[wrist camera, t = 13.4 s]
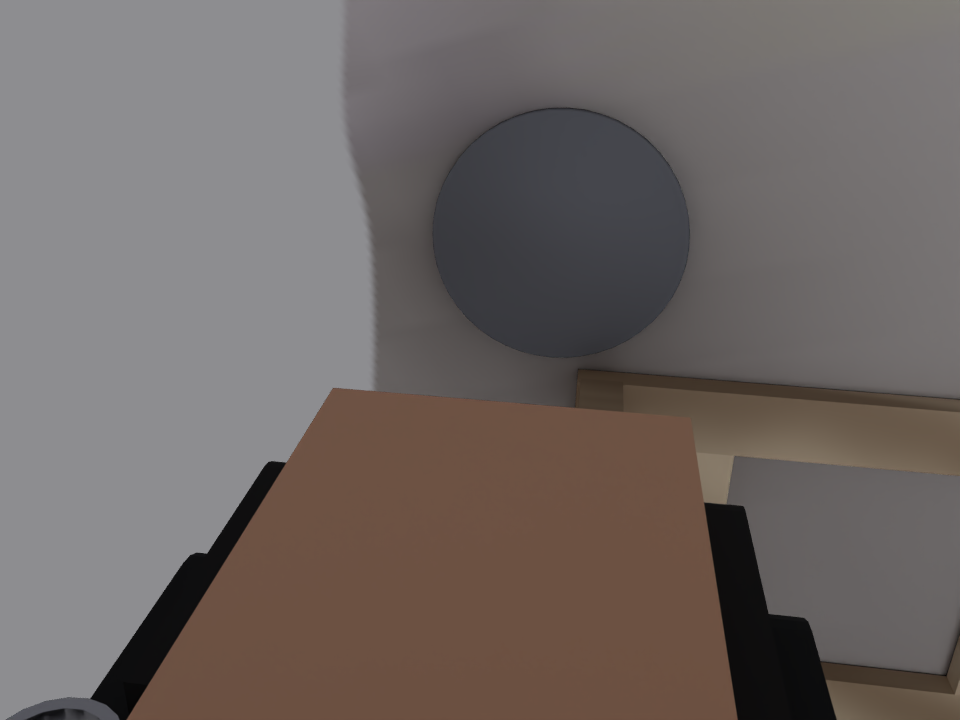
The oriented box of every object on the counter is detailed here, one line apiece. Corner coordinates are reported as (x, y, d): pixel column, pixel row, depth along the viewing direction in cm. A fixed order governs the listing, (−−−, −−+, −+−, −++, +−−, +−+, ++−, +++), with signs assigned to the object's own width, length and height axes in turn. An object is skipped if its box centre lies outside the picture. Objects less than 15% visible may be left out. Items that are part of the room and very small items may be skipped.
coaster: (672, 361, 26) (673, 367, 26) (435, 342, 27) (432, 347, 27) (704, 114, 23) (705, 117, 23) (435, 101, 24) (432, 104, 24)
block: (652, 692, 13) (675, 1153, 8) (347, 657, 14) (193, 1071, 9) (690, 417, 11) (751, 803, 6) (333, 388, 12) (125, 722, 7)
